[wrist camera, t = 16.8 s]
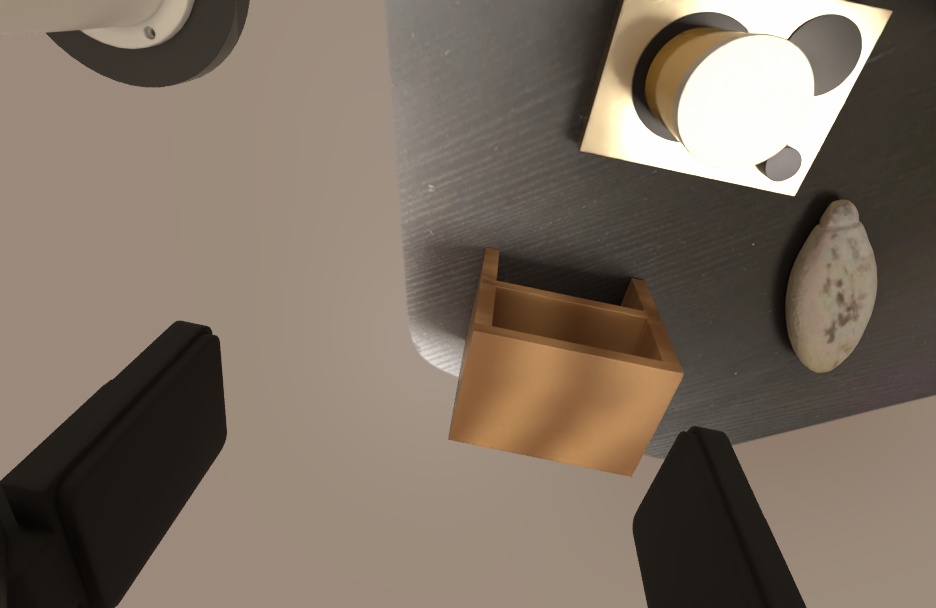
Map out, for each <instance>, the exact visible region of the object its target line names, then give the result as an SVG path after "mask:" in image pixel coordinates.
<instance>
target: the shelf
mask: <svg viewBox="0 0 936 608" xmlns="http://www.w3.org/2000/svg"><path fill="white" fill-rule="evenodd" d="M498 261H499V250H495V249H491V248H486V250H485V254H484V259H483V263H482V268H481V272H480V277H479V281H478V286H477V290H476V295H475V299H474V304H473V308H472V313H471V317H470V322H469V326H468V331H467V335H466V340H465V345H464V351H463V357H462V363H461V369H460V374H459V380H458V387H457V392H456V398H455V403H454V409H453V415H452V421H451V427H450V433H449V440H453V441H458V442H463V443H468V444H472V445H477V446H482V447H487V448H492V449H497V450H502V451H507V452H512V453H517V454H522V455H527V456H532V457H537V458H542V459H546V460H551V461H556V462H561V463H566V464H571V465H576V466H581V467H586V468H591V469H596V470H600V471H605V472H611V473H615V474H620V475H626V476H630V477H632V475H633V473H634V471H635V470H636V468H637V466H638V464H639V462H640V460H641V458H642V456H643V454H644V452H645V450H646V448H647V446H648V444H649V442H650V440H651V438H652V436H653V434H654V432H655V430H656V428H657V426H658V424H659V423H660V421H661V419H662V417H663V415H664V413H665V411H666V409H667V407H668V405H669V403H670V401H671V399H672V397H673V395H674V393H675V391H676V389H677V387H678V385H679V383H680V381H681V379H682V377H683V376H684V372H683V370H682V368H681V365H680V363H679V361H678V358H677V356H676V354H675V351H674V349H673V347H672V344H671V342H670V339H669V337H668V335H667V332H666V330H665V328H664V325H663V323H662V320H661V318H660V316H659V313H658V311H657V309H656V306H655V304H654V301H653V299H652V297H651V294H650V292H649V290H648V287H647V285H646V282H645V281H644V280H639V279H634V278H631V281H630V283H629V286H628V288H627V291H626V293H625V296H624V299H623V301H622V304H621V306H617V305H612V304H607V303H602V302H598V301H593V300H588V299H583V298H578V297H574V296H569V295H564V294H559V293H554V292H550V291H545V290H540V289H535V288H530V287H525V286H521V285H516V284H511V283H506V282H501V281H497V271H498Z"/></svg>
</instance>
